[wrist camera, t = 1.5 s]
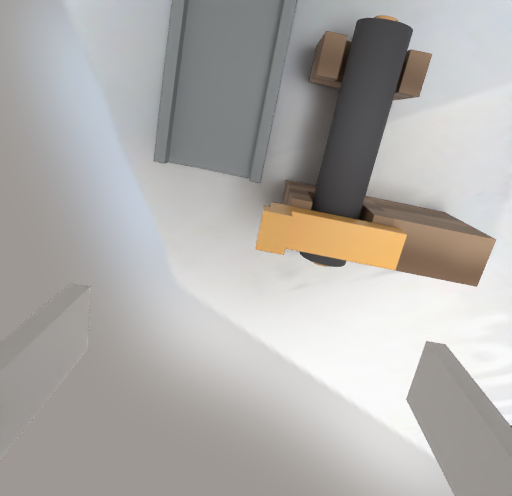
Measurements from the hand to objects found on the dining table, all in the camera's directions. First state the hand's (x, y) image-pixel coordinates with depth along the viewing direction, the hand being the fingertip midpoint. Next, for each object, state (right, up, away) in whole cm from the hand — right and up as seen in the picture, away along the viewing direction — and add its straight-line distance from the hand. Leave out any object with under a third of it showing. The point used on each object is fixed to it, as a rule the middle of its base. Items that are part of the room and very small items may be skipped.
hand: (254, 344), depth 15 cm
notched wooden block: (+11, +7, +24) cm, 27 cm away
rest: (+9, +19, +20) cm, 29 cm away
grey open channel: (-2, +21, +20) cm, 29 cm away
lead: (+8, +12, +18) cm, 23 cm away
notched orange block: (+6, +5, +15) cm, 17 cm away
